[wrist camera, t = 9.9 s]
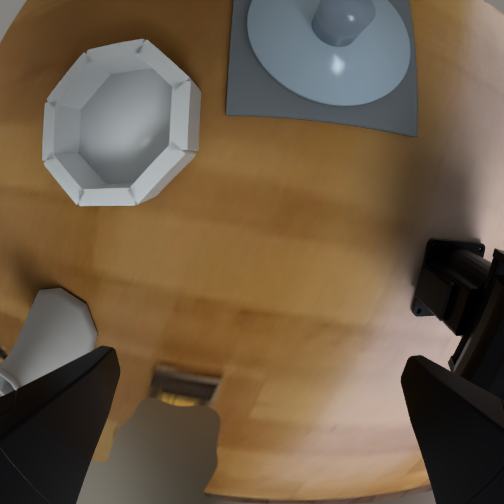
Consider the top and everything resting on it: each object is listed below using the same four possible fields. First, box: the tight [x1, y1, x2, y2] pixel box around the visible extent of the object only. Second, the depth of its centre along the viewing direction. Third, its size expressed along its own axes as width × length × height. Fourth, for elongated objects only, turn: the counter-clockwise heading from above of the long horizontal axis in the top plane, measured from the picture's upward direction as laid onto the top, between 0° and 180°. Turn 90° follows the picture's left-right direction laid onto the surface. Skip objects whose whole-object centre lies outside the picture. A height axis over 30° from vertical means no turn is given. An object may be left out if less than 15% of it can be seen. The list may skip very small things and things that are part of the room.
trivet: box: [226, 0, 418, 137], centre depth 16 cm, size 13×13×1 cm
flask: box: [0, 288, 98, 396], centre depth 18 cm, size 7×7×10 cm
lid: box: [247, 0, 410, 107], centre depth 13 cm, size 11×11×4 cm
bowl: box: [42, 39, 201, 206], centre depth 16 cm, size 10×10×4 cm
